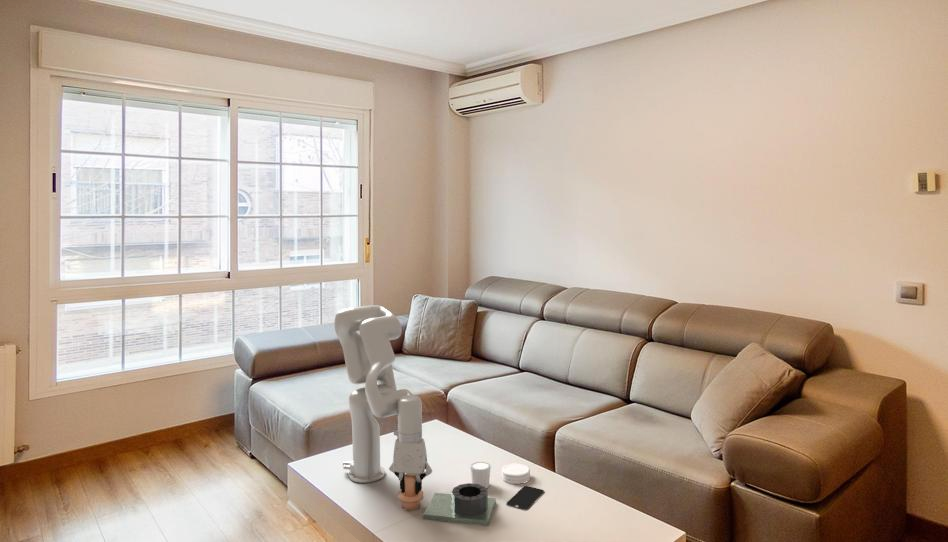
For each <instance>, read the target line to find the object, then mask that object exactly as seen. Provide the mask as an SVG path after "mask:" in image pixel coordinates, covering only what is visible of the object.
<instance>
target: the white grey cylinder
mask: <svg viewBox="0 0 948 542" xmlns="http://www.w3.org/2000/svg"><path fill="white" fill-rule="evenodd" d="M491 468H492V467H491V464H490V463H488V462H485V461H475V462H472V463H471V464H470V474H471V483H472V484H479V485H481V486H484V487H485V488H486V489H487V488H489V486H490V476H491Z"/></svg>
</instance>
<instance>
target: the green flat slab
mask: <svg viewBox="0 0 948 542" xmlns="http://www.w3.org/2000/svg"><path fill="white" fill-rule="evenodd" d="M496 501H497V499H496V498H495V497H489V491H488V490H487V488H485V487H484V486H481V485H479V484H472V482H468V483H462V484H458V485H457V486H455V487H453V489H452V491H451V493H443V492H442V493H440V492H435V493H434V494H433V496H432V498H431V499H430V501H429V502H428V505H427V507H426V508H425V510H424V512H423V514H422V519H423V520H431V521H437V522H438V521H440V522H441V521H442V522H449V523H450V522H451V523H461V524H470V525H477V526H478V525H479V526H486V527H487V526H489V524H490V521H491V520H492V515H493V512H494V509H495V506H496Z"/></svg>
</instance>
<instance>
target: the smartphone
mask: <svg viewBox="0 0 948 542" xmlns="http://www.w3.org/2000/svg"><path fill="white" fill-rule="evenodd" d="M544 494H545V490H544V489H541V488H537V487H533V486H528V485H524V486H522V487H521V488H520V489H519V490H518V491H517V493H515V494H514V495H513V496H512V497H511V498H510V499H509V500H508V501H507V502H506V503H505V505H506V506H507V507H510V508H514V509H518V510H521V511H529V509H530V508H531V507H532V506H533V505H534V504H535V503H536V502H537V501H538V500H539V499H540V498H541V497H540V496H541V495H542V496H543V495H544ZM539 497H540V498H539ZM538 498H539V499H538ZM537 499H538V500H537ZM536 500H537V501H536ZM535 501H536V502H535Z"/></svg>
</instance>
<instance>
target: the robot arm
mask: <svg viewBox="0 0 948 542" xmlns="http://www.w3.org/2000/svg"><path fill="white" fill-rule="evenodd" d="M334 330H335V333H336V337H337V339H338V340H339V343H340V345H341V347H342V348H341V349H342V352H343V353H342V354H343V357H344V362H345V367H346V373H347V377H348V380H349V381H350V383H351V384H352V385H363V384H364V387H360V388H357V389H355V390H353V391H352V392H350V394H349V396H348V407H349V412H350V418H351V431H352V432H351V434H352V436H351V438H352V439H351V440H352V441H351V442H352V461H347V460H344V461H342V467H343V470H349V472H348V478H349V480H351V481H352V482H354V483H361V484H362V483H363V484H365V483H373V482H376V481H379V480H381V479H382V478H384V477H385V474H386V470H385V468H384V467H383V466H382V465H381V439H380V438H381V433H380V432H381V430H380V424H379V422H378V421H377V419H376V418H378V419H383V418H384V419H385V418H389V417H392V416H396V415H397V430H394V431H393V436H396V437H397V438H396V439H395V441H394V447H393V454H392V455H393V457H392V458H393V459H392V464H391V465H390V466H389V468H388V470H389V471H390V472H391V473H393V474H394V475H395V477H397V478H398V481H399V489H400V491H401V493H404V492H405V487H404V475H405V474H416V479H417V480H416V482H415V494H417V495H418V493H419V492H420V491H421V490H423V486H422V485H423V483H422V481H423V480H424V479H425V478H426V477H427V476H428V477H429V475H431V474H432V473H433V469H432V467H431V466H430V464H429V463H428V454H427V446H426V443H425V439H424V437H423V415H422V414H423V407H422V405H423V403H422V399H421V398H420V397H419V396H418V395H414V394H413V393H412V392H411V391H410V390H408V388H402V389H397V385H396V379H395V375H394V371H393V367H392V364H394V362H395V361H396V355H395V352H394V349H393V348H392V344H391V342H390V341H392V340H393V341H394V340H397V339H399V338H400V337H401V335H402V332H403V328H402V324H401V322H400V320H399V318H398V317H397V316H396V315H395V314H393V313H392V312H391V311H389V310H388V309H386V307H384V306H383V305H382V306H381V305H380V304H372V305H361V306H353V307H346V308H343V309H340V310H339V311H338V312H337V313H336V314H335V316H334ZM358 331H359V333H358ZM375 417H376V418H375Z"/></svg>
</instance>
